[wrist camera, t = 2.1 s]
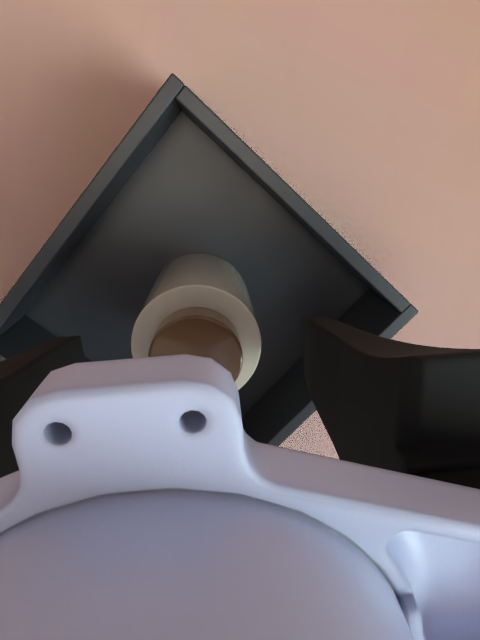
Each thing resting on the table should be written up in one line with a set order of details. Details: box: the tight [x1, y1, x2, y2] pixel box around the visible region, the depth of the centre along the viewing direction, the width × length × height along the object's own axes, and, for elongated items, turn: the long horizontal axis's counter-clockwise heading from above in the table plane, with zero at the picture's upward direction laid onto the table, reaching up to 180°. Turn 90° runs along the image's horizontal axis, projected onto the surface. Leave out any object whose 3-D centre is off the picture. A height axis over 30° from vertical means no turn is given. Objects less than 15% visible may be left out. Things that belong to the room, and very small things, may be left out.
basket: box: [0, 73, 418, 446], centre depth 18 cm, size 12×12×4 cm
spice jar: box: [131, 253, 261, 390], centre depth 16 cm, size 4×4×6 cm
